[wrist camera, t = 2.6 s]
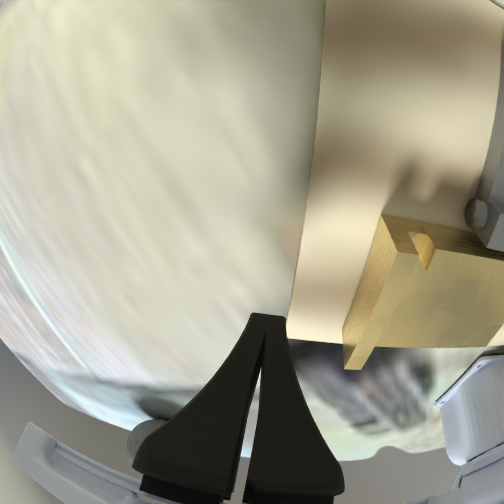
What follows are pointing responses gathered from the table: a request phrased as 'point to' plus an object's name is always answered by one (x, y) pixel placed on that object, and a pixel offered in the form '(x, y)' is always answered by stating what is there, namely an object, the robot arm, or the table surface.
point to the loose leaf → (424, 291)
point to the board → (392, 138)
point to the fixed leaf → (491, 182)
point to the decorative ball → (141, 435)
